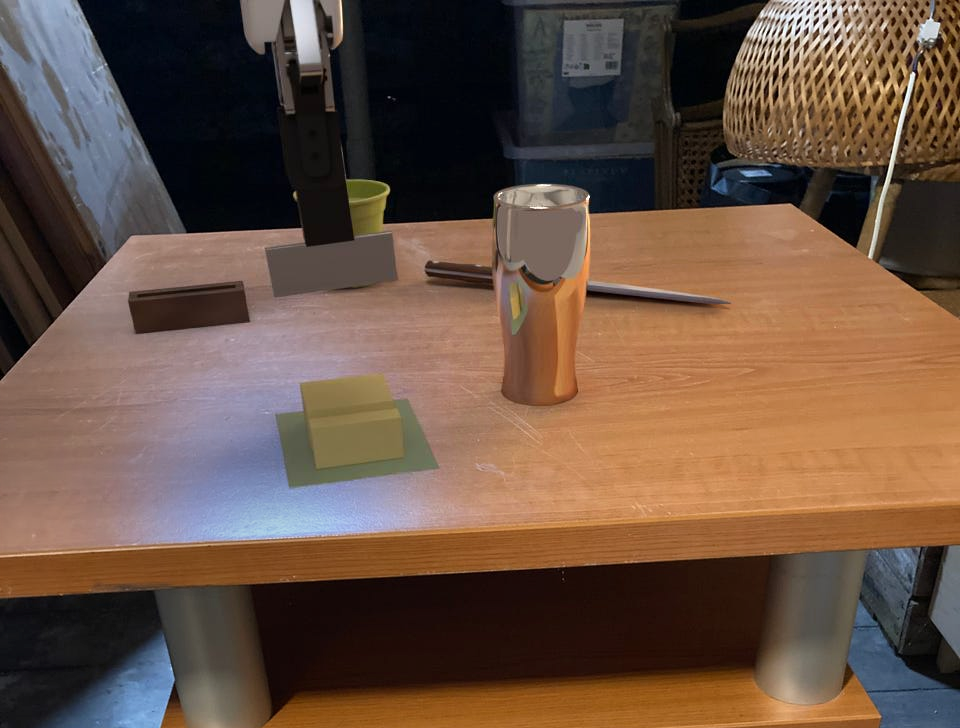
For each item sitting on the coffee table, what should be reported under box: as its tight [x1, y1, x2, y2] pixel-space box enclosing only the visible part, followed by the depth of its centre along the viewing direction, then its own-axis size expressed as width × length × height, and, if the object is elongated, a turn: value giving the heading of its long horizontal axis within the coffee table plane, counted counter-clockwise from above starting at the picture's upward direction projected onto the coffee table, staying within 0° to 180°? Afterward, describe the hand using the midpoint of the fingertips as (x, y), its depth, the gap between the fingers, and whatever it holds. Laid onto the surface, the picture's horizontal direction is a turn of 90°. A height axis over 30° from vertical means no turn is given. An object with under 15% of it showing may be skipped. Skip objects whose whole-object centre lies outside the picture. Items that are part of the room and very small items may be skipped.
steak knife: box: [424, 260, 732, 305], centre depth 98 cm, size 5×31×2 cm, turn 71°
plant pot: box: [292, 178, 391, 289], centre depth 100 cm, size 9×9×9 cm
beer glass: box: [491, 183, 591, 407], centre depth 72 cm, size 7×7×15 cm
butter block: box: [299, 372, 395, 451], centre depth 71 cm, size 6×5×3 cm
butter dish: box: [275, 397, 440, 490], centre depth 71 cm, size 10×12×1 cm
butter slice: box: [309, 408, 404, 469], centre depth 67 cm, size 6×2×3 cm, turn 103°
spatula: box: [264, 145, 399, 299], centre depth 61 cm, size 8×2×10 cm, turn 103°
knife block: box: [127, 280, 251, 334], centre depth 93 cm, size 10×3×3 cm, turn 104°
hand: (315, 180), depth 60 cm, fingers closed on spatula, 1 cm apart
